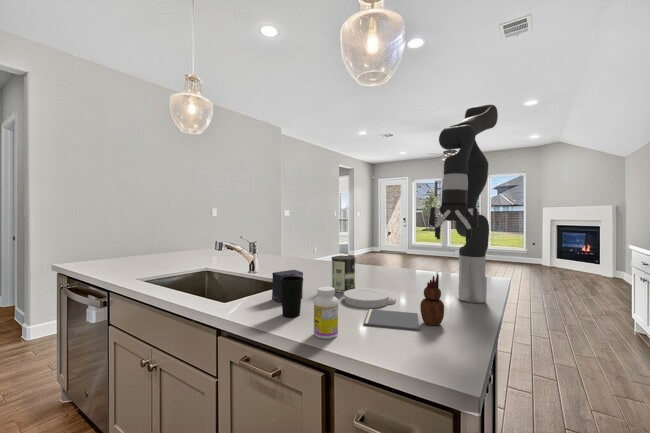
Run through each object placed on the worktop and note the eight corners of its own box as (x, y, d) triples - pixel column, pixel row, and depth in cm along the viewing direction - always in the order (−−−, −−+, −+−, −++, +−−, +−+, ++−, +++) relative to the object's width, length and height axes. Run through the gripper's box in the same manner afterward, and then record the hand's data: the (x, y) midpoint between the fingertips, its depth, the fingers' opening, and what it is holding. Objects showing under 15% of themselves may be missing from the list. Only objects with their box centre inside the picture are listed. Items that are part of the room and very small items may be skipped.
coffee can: (354, 286, 140) (354, 255, 139) (356, 292, 129) (356, 259, 129) (331, 286, 140) (331, 255, 140) (331, 292, 130) (331, 259, 129)
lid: (402, 308, 110) (402, 299, 110) (346, 309, 108) (346, 300, 108) (389, 295, 127) (389, 288, 127) (340, 295, 126) (340, 288, 126)
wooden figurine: (440, 320, 97) (441, 272, 96) (446, 327, 91) (446, 276, 91) (418, 319, 97) (419, 272, 97) (422, 326, 92) (423, 276, 91)
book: (417, 314, 102) (417, 313, 102) (419, 330, 88) (419, 328, 88) (368, 310, 106) (368, 308, 106) (363, 325, 92) (363, 323, 92)
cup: (284, 320, 96) (284, 281, 96) (276, 313, 103) (276, 277, 103) (306, 316, 100) (307, 279, 99) (297, 309, 106) (297, 275, 106)
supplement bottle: (313, 330, 88) (313, 285, 88) (336, 330, 89) (336, 285, 88) (314, 340, 81) (314, 291, 81) (339, 339, 82) (339, 291, 82)
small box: (280, 303, 114) (280, 275, 114) (271, 299, 119) (271, 272, 119) (303, 298, 121) (303, 271, 121) (293, 294, 126) (293, 269, 126)
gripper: (480, 190, 98) (478, 241, 98) (433, 190, 105) (431, 238, 105) (478, 187, 91) (476, 242, 91) (429, 188, 99) (426, 239, 99)
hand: (452, 240), depth 98 cm, fingers open, 8 cm apart
